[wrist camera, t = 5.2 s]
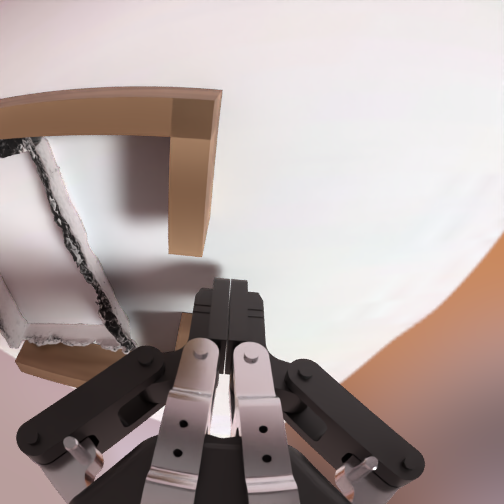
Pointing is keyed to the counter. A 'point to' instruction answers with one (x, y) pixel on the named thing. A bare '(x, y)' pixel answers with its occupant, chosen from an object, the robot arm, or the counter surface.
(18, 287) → the counter surface
